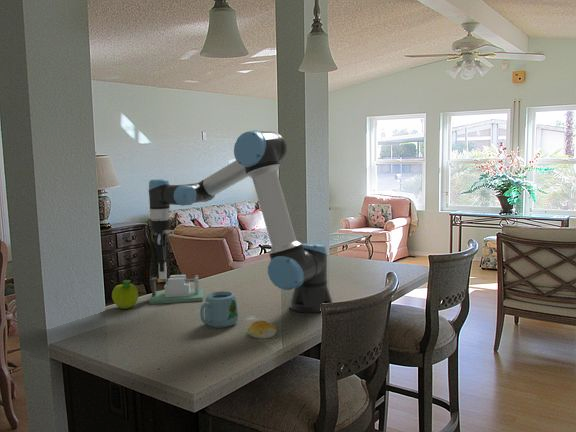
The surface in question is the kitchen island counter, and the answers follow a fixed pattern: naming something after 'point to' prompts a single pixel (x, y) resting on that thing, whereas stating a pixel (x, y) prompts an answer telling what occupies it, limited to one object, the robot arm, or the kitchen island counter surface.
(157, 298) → the heatsink board
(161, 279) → the wooden stick
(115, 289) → the fruit
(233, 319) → the mug
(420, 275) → the kitchen island counter surface
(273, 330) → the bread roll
